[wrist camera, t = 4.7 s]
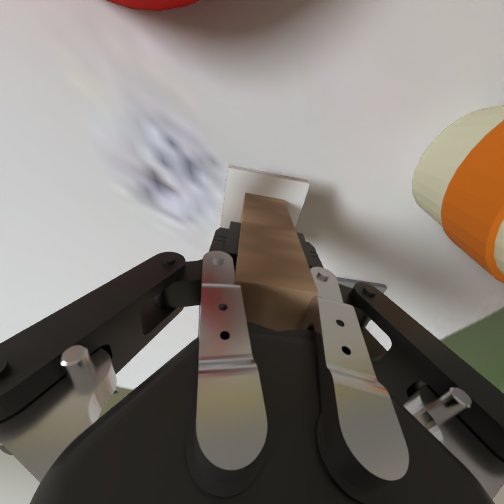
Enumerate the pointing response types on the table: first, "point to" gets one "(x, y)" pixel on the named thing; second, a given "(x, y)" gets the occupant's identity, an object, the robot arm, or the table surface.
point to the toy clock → (154, 4)
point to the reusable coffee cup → (468, 185)
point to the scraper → (269, 246)
